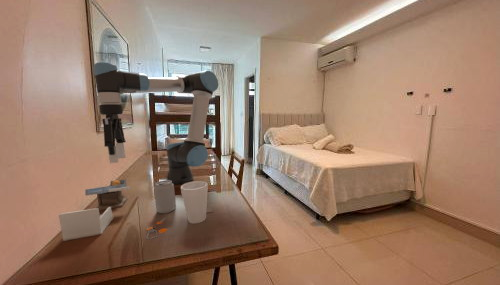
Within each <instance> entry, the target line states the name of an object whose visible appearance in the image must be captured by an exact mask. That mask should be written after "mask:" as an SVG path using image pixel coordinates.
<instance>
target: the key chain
mask: <svg viewBox="0 0 500 285" xmlns="http://www.w3.org/2000/svg"><path fill="white" fill-rule="evenodd" d="M165 220H167V217H163V218H162V219H161V220H159V221H157V222H156V224H154V225H153V226H154V227H153V226H149V227H150V228H149V229H148V228H147V229H146V228H145V231H147V230H148V231H147V235H146V240H151V239H155V238H157V237H158V236H159V235H158V233H159V234H162V233H165V232H166V231H168V229H167V228H166V227H164V228H160V229H159V230H158V229H157V228H156V227H155V226H157V225H161V224H163V222H164V221H165ZM152 228H155V229H152ZM154 231H155V232H154ZM153 233H155V234H156V235H155V236H152V237H149V234H153Z"/></svg>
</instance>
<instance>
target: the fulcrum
mask: <svg viewBox="0 0 500 285" xmlns="http://www.w3.org/2000/svg"><path fill="white" fill-rule="evenodd" d="M117 188H123V187H121V186H118V187H117ZM122 193H123V192H122V190H121V191H114V192H107V193H101V194H96V196H97V203H98V204H96V205H95V206H94V208H99V211H101V210H106V209H107V208H108V207H111V209H114V208H122V207H124V205H125V203H126V202H127V201H128V198H127V197H126V198H125V197H124V198H123V194H122Z"/></svg>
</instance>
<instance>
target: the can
mask: <svg viewBox="0 0 500 285" xmlns="http://www.w3.org/2000/svg"><path fill="white" fill-rule="evenodd" d="M153 191H154V200H155V201H154V202H155V207H156V208H155V209H156V212H158V213H159V214H169V213H172V212H173V211H174V210H175V209H176V208H177V203H176V194H175V184H173V183H172V181H170V180H167V179H166V180H159V181H157V182H155V185H154V187H153Z"/></svg>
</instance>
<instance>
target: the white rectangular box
mask: <svg viewBox="0 0 500 285" xmlns="http://www.w3.org/2000/svg"><path fill="white" fill-rule="evenodd" d="M58 218H59V219H58V220H59V225H60V230H61V235H62V241H63V242H66V241H70V240H71V241H72V240H77V239H82V238H87V237H92V236H98V235H102V234H103V233H104V232H105V230H106V229H107V227H108V226H109V225H110V224H111V222H112V221H113V220H114V213H113V211H112V208H111V207H108V208H107V209H105V210H104V212H103V213H100V210H99V208H95V207H94V208H89V209H82V210H81V209H80V210H75V211H68V212H62V213H61V212H60V213H59V214H58Z"/></svg>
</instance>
